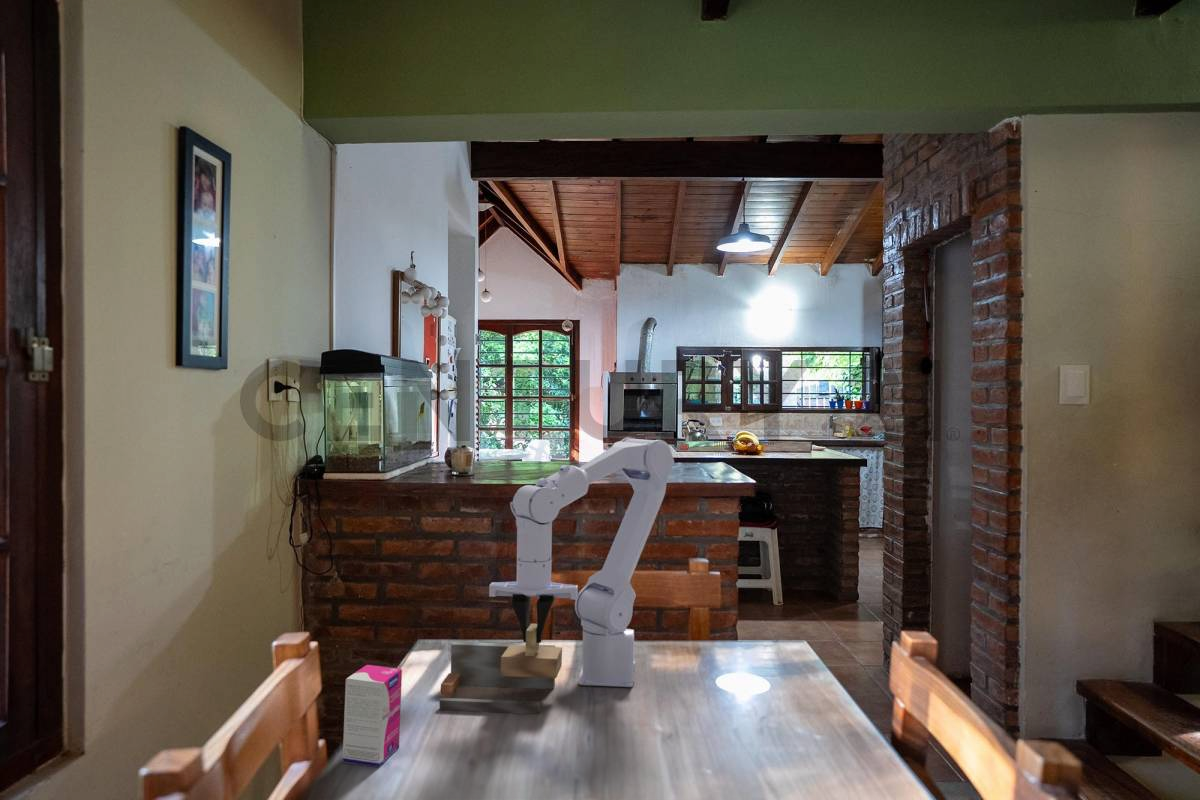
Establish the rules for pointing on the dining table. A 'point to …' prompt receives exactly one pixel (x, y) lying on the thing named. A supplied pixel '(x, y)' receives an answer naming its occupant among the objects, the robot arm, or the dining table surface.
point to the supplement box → (372, 715)
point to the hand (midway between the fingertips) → (532, 640)
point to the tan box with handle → (531, 658)
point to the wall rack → (486, 679)
